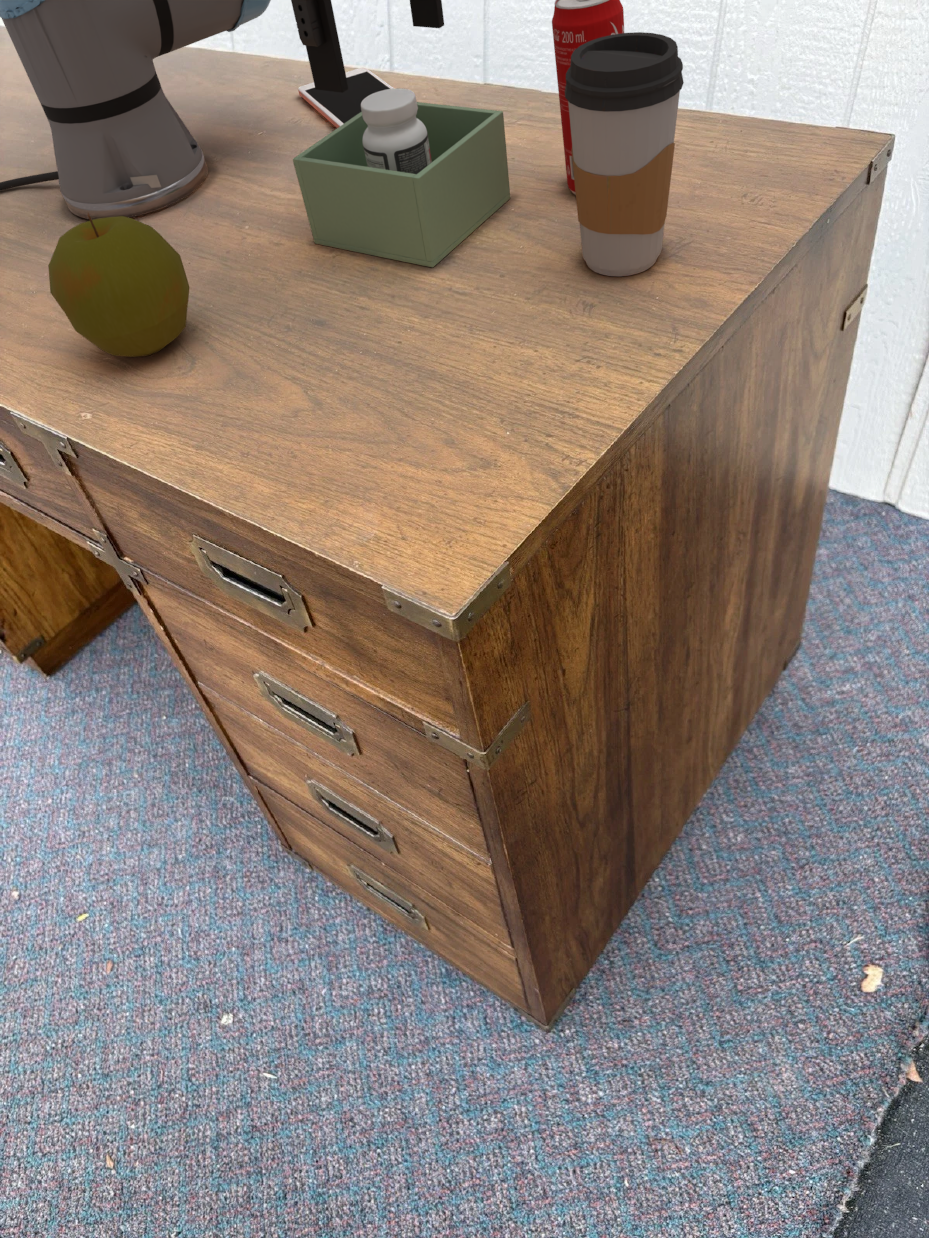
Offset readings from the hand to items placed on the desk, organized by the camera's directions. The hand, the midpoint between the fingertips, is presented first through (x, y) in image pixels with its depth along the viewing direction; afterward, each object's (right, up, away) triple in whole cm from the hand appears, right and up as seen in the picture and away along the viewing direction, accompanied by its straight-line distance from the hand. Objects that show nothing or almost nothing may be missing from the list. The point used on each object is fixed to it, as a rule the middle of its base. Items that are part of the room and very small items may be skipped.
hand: (382, 56), depth 71 cm
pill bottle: (+2, -9, +10) cm, 13 cm away
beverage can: (+19, -6, +10) cm, 22 cm away
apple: (-20, -23, +2) cm, 30 cm away
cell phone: (-5, +13, +30) cm, 33 cm away
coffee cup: (+20, -16, +1) cm, 25 cm away
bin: (+2, -9, +10) cm, 13 cm away
